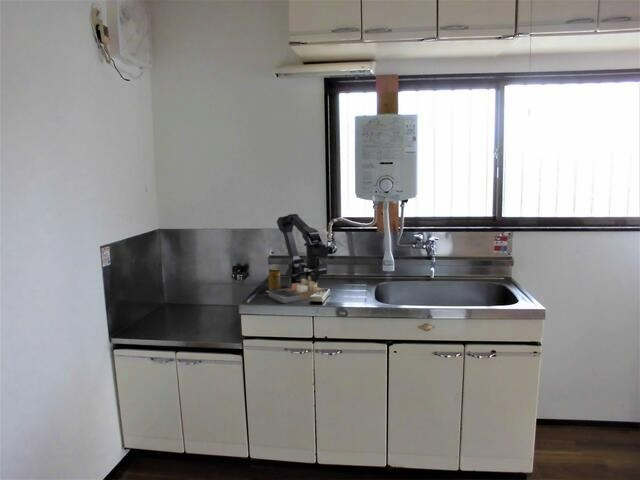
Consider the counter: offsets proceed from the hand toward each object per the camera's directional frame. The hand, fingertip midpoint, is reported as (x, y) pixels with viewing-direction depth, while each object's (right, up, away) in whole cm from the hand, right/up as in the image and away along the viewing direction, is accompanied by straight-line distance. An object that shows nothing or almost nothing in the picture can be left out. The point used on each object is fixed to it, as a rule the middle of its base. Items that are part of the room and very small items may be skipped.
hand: (312, 285), depth 231 cm
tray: (-14, -6, -8) cm, 17 cm away
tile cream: (-5, -2, -6) cm, 8 cm away
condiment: (-19, -4, +5) cm, 20 cm away
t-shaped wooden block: (-1, -1, 0) cm, 1 cm away
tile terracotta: (-8, -1, -2) cm, 8 cm away
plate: (-4, -4, -2) cm, 6 cm away
